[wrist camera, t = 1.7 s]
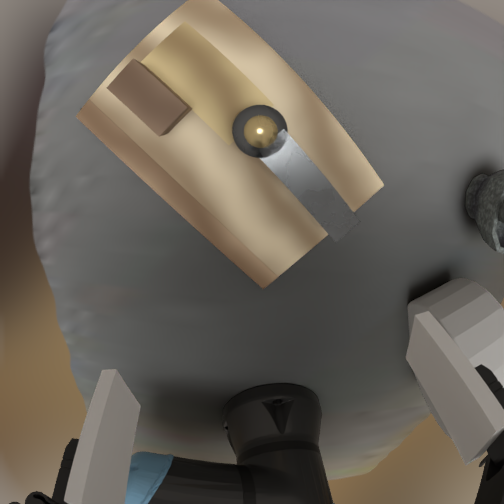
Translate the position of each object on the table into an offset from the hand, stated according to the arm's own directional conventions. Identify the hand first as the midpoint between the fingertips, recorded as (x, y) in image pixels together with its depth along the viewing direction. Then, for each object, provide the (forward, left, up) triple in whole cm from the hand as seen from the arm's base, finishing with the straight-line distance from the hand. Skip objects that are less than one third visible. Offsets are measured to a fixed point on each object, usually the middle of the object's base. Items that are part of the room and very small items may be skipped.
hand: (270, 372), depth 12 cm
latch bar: (+7, +1, -17) cm, 18 cm away
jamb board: (+5, +6, -19) cm, 20 cm away
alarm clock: (+9, -30, -19) cm, 37 cm away
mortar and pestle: (+24, -17, -19) cm, 35 cm away
